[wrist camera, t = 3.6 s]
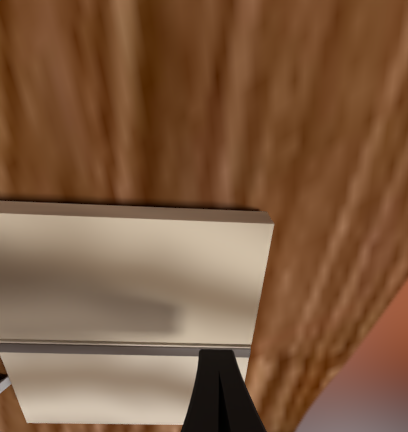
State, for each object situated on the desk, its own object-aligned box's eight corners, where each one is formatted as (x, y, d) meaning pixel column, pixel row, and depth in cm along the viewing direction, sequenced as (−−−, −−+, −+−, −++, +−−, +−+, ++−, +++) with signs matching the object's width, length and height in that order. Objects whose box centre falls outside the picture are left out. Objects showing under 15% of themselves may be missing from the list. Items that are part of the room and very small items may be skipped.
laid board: (234, 404, 17) (237, 426, 16) (38, 401, 16) (26, 424, 15) (246, 328, 14) (250, 348, 13) (11, 322, 14) (-7, 342, 12)
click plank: (247, 325, 14) (251, 344, 13) (10, 319, 13) (-7, 338, 12) (266, 211, 11) (274, 224, 10) (-37, 199, 11) (-64, 210, 9)
